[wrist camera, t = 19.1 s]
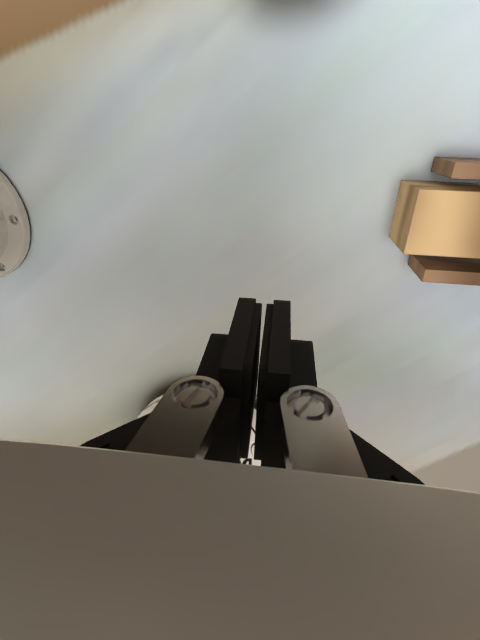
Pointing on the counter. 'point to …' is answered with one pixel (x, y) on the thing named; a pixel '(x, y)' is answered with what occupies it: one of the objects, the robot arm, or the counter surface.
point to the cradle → (442, 266)
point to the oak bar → (437, 219)
